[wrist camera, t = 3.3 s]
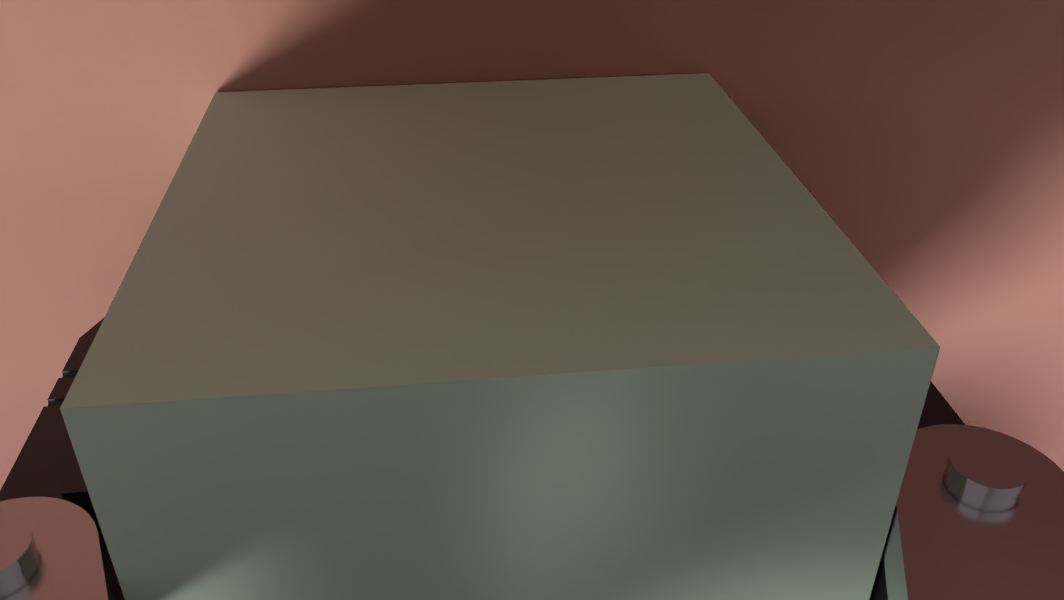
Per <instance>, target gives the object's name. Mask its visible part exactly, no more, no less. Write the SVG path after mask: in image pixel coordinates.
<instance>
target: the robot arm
mask: <svg viewBox="0 0 1064 600" xmlns="http://www.w3.org/2000/svg"><path fill="white" fill-rule="evenodd" d="M104 318H105V317H104ZM104 318H103V319H102V320H101V321H100V322H98V323H97V324H96V325H95V326H94V327H92V328H91V329H90V330H89V331H88V332H86V333H85V334H84V335H83V336H82V337H80V338H79V340H78V342H77V344H76V346H75V348H74V350H73V352H72V354H71V356H70V358H69V359H68V361H67V363H66V365H65V367H64V369H63V371H62V372H63V378H59V379H58V381H57V383H56V385H55V386H54V388H53V390H52V392H51V394H50V396H49V398H48V406H46V407H44V408H43V410H42V411H41V413H40V415H39V417H38V419H37V421H36V423H35V425H34V427H33V429H32V431H31V433H30V435H29V437H28V438H27V440H26V442H25V444H24V446H23V448H22V450H21V452H20V454H19V456H18V458H17V460H16V462H15V464H14V465H13V467H12V469H11V471H10V473H9V475H8V477H7V479H6V481H5V483H4V485H3V487H2V489H1V491H0V600H125V598H124V596H123V593H122V590H121V587H120V584H119V581H118V578H117V575H116V572H115V569H114V566H113V563H112V560H111V557H110V554H109V552H108V549H107V546H106V543H105V540H104V537H103V534H102V531H101V528H100V525H99V522H98V519H97V516H96V513H95V510H94V507H93V505H92V502H91V499H90V496H89V493H88V490H87V487H86V484H85V481H84V478H83V475H82V472H81V469H80V466H79V463H78V461H77V458H76V455H75V452H74V449H73V446H72V443H71V440H70V437H69V434H68V431H67V428H66V425H65V422H64V419H63V416H62V414H61V411H60V407H61V405H62V403H63V401H64V399H65V397H66V395H67V393H68V391H69V389H70V387H71V385H72V383H73V381H74V379H75V377H76V375H77V373H78V371H79V369H80V367H81V365H82V363H83V361H84V359H85V357H86V355H87V352H88V350H89V348H90V346H91V344H92V342H93V340H94V338H95V336H96V334H97V332H98V330H99V328H100V326H101V324H102V322H103V320H104ZM869 600H1064V472H1063V471H1062V470H1061V469H1060V468H1059V467H1058V466H1057V465H1056V464H1055V463H1054V462H1053V461H1052V460H1050V459H1049V458H1048V457H1047V456H1045V455H1044V454H1043V453H1041V452H1039V451H1038V450H1036V449H1035V448H1033V447H1031V446H1030V445H1028V444H1026V443H1024V442H1022V441H1020V440H1018V439H1016V438H1013V437H1010V436H1008V435H1005V434H1003V433H1000V432H996V431H993V430H989V429H986V428H981V427H975V426H970V425H965V424H964V423H963V421H962V420H961V419H960V418H959V416H958V415H957V414H956V413H955V411H954V410H953V409H952V407H951V406H950V405H949V404H948V402H947V401H946V400H945V399H944V397H943V396H942V395H941V394H940V392H939V391H938V390H937V388H936V387H935V386H934V385H933V383H932V382H931V381H930V385H929V389H928V392H927V396H926V399H925V403H924V406H923V410H922V413H921V417H920V421H919V424H918V428H917V431H916V435H915V438H914V442H913V445H912V449H911V453H910V456H909V460H908V463H907V467H906V470H905V474H904V477H903V481H902V485H901V488H900V492H899V495H898V499H897V502H896V506H895V510H894V513H893V517H892V520H891V524H890V527H889V531H888V534H887V538H886V542H885V545H884V549H883V552H882V556H881V559H880V563H879V566H878V570H877V574H876V577H875V581H874V584H873V588H872V591H871V595H870V598H869Z"/></svg>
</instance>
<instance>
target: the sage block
mask: <svg viewBox="0 0 1064 600" xmlns="http://www.w3.org/2000/svg"><path fill="white" fill-rule="evenodd" d="M939 349H940V346H939V345H938V344H937V343H936V342H935V340H934V339H933V338H932V337H931V336H930V335H929V333H928V332H927V331H926V330H925V329H924V327H923V326H922V325H921V324H920V323H919V321H918V320H917V319H916V318H915V317H914V316H913V314H912V313H911V312H910V311H909V310H908V308H907V307H906V306H905V305H904V304H903V303H902V301H901V300H900V299H899V298H898V297H897V295H896V294H895V293H894V292H893V291H892V289H891V288H890V287H889V286H888V285H887V284H886V282H885V281H884V280H883V279H882V278H881V276H880V275H879V274H878V273H877V272H876V270H875V269H874V268H873V267H872V266H871V265H870V263H869V262H868V261H867V260H866V259H865V257H864V256H863V255H862V254H861V253H860V252H859V250H858V249H857V248H856V247H855V246H854V244H853V243H852V242H851V241H850V240H849V238H848V237H847V236H846V235H845V234H844V233H843V231H842V230H841V229H840V228H839V227H838V225H837V224H836V223H835V222H834V221H833V220H832V218H831V217H830V216H829V215H828V214H827V212H826V211H825V210H824V209H823V208H822V206H821V205H820V204H819V203H818V202H817V201H816V199H815V198H814V197H813V196H812V195H811V193H810V192H809V191H808V190H807V189H806V188H805V186H804V185H803V184H802V183H801V182H800V180H799V179H798V178H797V177H796V176H795V174H794V173H793V172H792V171H791V170H790V169H789V167H788V166H787V165H786V164H785V163H784V161H783V160H782V159H781V158H780V157H779V156H778V154H777V153H776V152H775V151H774V150H773V148H772V147H771V146H770V145H769V144H768V142H767V141H766V140H765V139H764V138H763V137H762V135H761V134H760V133H759V132H758V131H757V129H756V128H755V127H754V126H753V125H752V124H751V122H750V121H749V120H748V119H747V118H746V116H745V115H744V114H743V113H742V112H741V110H740V109H739V108H738V107H737V106H736V105H735V103H734V102H733V101H732V100H731V99H730V97H729V96H728V95H727V94H726V93H725V91H724V90H723V89H722V88H721V87H720V86H719V84H718V83H717V82H716V81H715V80H714V78H713V77H712V76H711V75H710V74H709V73H697V74H671V75H646V76H620V77H594V78H569V79H543V80H517V81H492V82H466V83H441V84H415V85H389V86H364V87H338V88H312V89H287V90H261V91H236V92H215V94H214V96H213V99H212V101H211V103H210V105H209V107H208V109H207V111H206V113H205V115H204V117H203V119H202V121H201V123H200V125H199V127H198V129H197V131H196V133H195V135H194V137H193V139H192V141H191V143H190V145H189V147H188V149H187V151H186V153H185V155H184V157H183V159H182V162H181V164H180V166H179V168H178V170H177V172H176V174H175V176H174V178H173V180H172V182H171V184H170V186H169V188H168V190H167V192H166V194H165V196H164V198H163V200H162V202H161V204H160V206H159V208H158V210H157V212H156V214H155V216H154V218H153V220H152V222H151V224H150V227H149V229H148V231H147V233H146V235H145V237H144V239H143V241H142V243H141V245H140V247H139V249H138V251H137V253H136V255H135V257H134V259H133V261H132V263H131V265H130V267H129V269H128V271H127V273H126V275H125V277H124V279H123V281H122V283H121V285H120V287H119V289H118V292H117V294H116V296H115V298H114V300H113V302H112V304H111V306H110V308H109V310H108V312H107V314H106V316H105V318H104V320H103V322H102V324H101V326H100V328H99V330H98V332H97V334H96V336H95V338H94V340H93V342H92V344H91V346H90V348H89V350H88V352H87V355H86V357H85V359H84V361H83V363H82V365H81V367H80V369H79V371H78V373H77V375H76V377H75V379H74V381H73V383H72V385H71V387H70V389H69V391H68V393H67V395H66V397H65V399H64V401H63V403H62V405H61V407H60V411H61V414H62V416H63V419H64V422H65V425H66V428H67V431H68V434H69V437H70V440H71V443H72V446H73V449H74V452H75V455H76V458H77V461H78V463H79V466H80V469H81V472H82V475H83V478H84V481H85V484H86V487H87V490H88V493H89V496H90V499H91V502H92V505H93V507H94V510H95V513H96V516H97V519H98V522H99V525H100V528H101V531H102V534H103V537H104V540H105V543H106V546H107V549H108V552H109V554H110V557H111V560H112V563H113V566H114V569H115V572H116V575H117V578H118V581H119V584H120V587H121V590H122V593H123V596H124V598H125V600H869V598H870V595H871V591H872V588H873V584H874V581H875V577H876V574H877V570H878V566H879V563H880V559H881V556H882V552H883V549H884V545H885V542H886V538H887V534H888V531H889V527H890V524H891V520H892V517H893V513H894V510H895V506H896V502H897V499H898V495H899V492H900V488H901V485H902V481H903V477H904V474H905V470H906V467H907V463H908V460H909V456H910V453H911V449H912V445H913V442H914V438H915V435H916V431H917V428H918V424H919V421H920V417H921V413H922V410H923V406H924V403H925V399H926V396H927V392H928V389H929V385H930V381H931V378H932V374H933V371H934V367H935V364H936V360H937V357H938V353H939Z"/></svg>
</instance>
